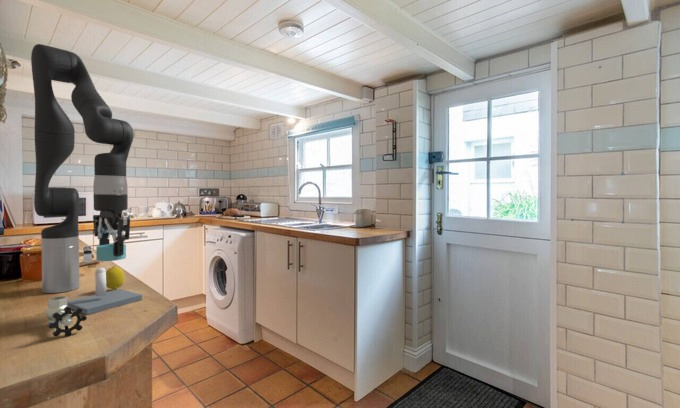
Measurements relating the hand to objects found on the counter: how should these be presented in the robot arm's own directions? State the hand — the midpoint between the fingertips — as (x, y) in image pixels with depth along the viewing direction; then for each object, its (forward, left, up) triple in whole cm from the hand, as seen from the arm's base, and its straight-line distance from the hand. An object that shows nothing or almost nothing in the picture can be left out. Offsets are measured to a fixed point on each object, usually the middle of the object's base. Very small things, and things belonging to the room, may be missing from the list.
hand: (111, 254), depth 88 cm
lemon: (-18, +9, -15) cm, 25 cm away
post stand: (-7, 0, -15) cm, 16 cm away
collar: (0, 0, -1) cm, 1 cm away
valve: (+5, -13, -15) cm, 21 cm away
